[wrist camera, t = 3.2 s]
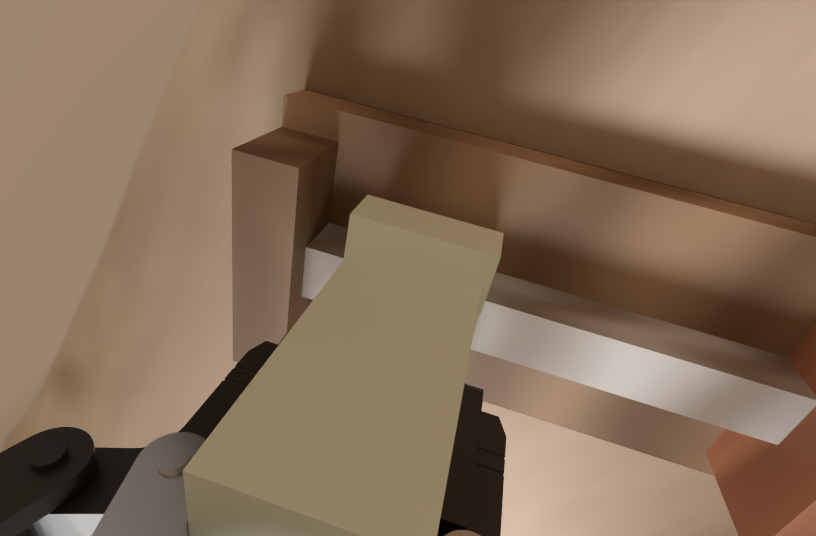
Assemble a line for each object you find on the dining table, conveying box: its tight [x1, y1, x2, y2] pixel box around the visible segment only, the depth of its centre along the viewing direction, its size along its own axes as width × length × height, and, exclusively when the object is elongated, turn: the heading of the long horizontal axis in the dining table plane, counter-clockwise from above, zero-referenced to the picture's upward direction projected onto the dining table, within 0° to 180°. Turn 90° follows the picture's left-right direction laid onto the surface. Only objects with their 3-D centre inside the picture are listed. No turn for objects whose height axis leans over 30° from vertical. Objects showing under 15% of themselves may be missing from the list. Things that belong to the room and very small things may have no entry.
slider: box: [183, 195, 504, 536], centre depth 12 cm, size 4×7×10 cm, turn 169°
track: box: [232, 90, 816, 536], centre depth 15 cm, size 20×10×6 cm, turn 79°
